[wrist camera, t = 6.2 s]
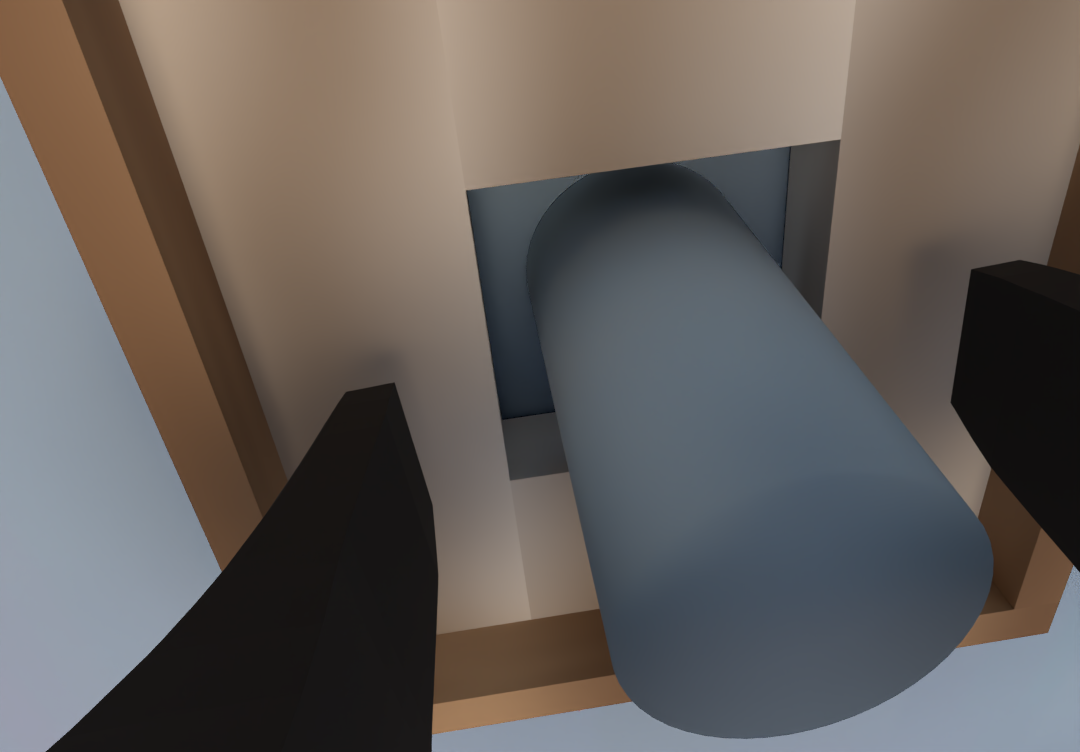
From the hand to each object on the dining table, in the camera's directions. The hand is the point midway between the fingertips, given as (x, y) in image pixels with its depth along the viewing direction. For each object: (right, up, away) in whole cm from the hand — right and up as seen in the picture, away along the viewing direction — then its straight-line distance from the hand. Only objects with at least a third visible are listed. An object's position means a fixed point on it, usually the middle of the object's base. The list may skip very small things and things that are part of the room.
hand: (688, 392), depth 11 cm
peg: (0, +2, +3) cm, 3 cm away
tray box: (0, +2, +3) cm, 3 cm away
